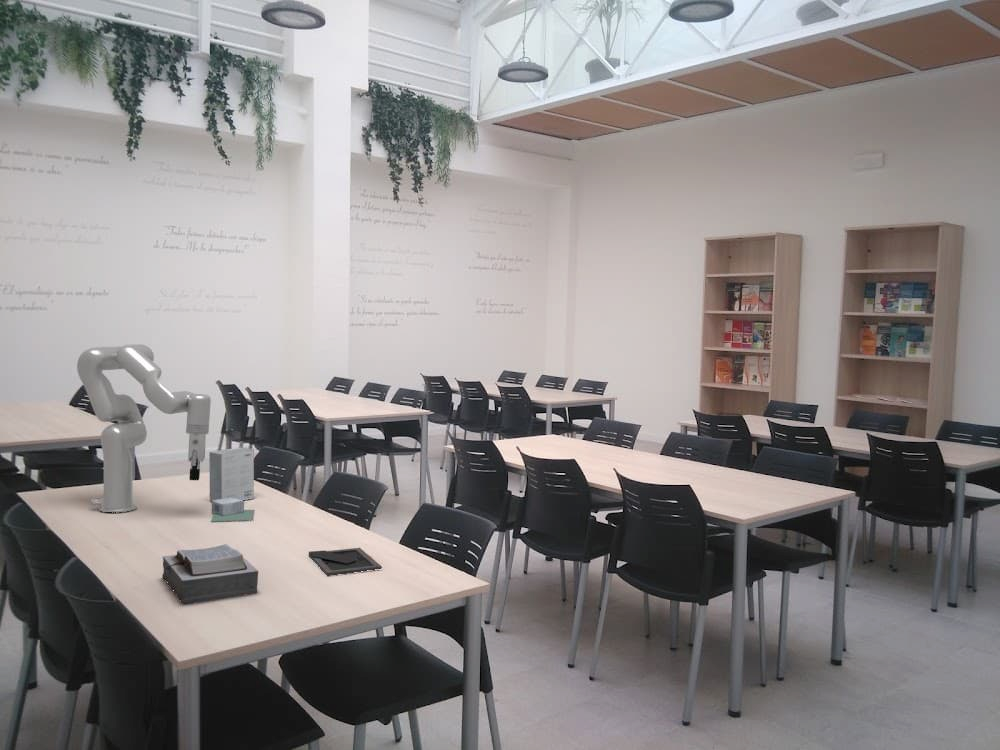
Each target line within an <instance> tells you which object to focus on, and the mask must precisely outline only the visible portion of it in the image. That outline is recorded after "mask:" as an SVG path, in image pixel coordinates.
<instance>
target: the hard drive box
mask: <svg viewBox="0 0 1000 750" xmlns="http://www.w3.org/2000/svg"><path fill="white" fill-rule="evenodd" d="M208 456H209V459H208V460H209V461H208V464H209V465H208V466H209V503H210V502H211V504H212V500H217V499H224V498H231V497H233V498H236V499H239V500H245V501H249V500H253V498H254V499H255V482H254V481H255V470H254V469H255V461H254V460H255V450H254V449H253V448H248V447H236V448H229V449H228V448H226V449H222V450H215V451H209V455H208ZM248 499H249V500H248Z"/></svg>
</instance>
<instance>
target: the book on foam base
mask: <svg viewBox="0 0 1000 750" xmlns="http://www.w3.org/2000/svg"><path fill="white" fill-rule="evenodd" d="M162 560H163V561H162V569H163V572H162V577H161V578H162V580H163V579H164V580H166V581H167V582H168V583H167V582H166V583H167V586H168V585H169V586H170V587H171V589H172V590H174V592H175V593H176V594H177V596H178V598H179V599H178V598H177V599H178V601H180V600H181V601H180V602H181V604H182V603H183V604H182V605H185V604H184V603H190V604H195V603H194V602H197V603H203V602H207V601H215V600H221V599H228V598H234V596H235V597H240V596H239V595H241V596H245V595H244V594H248V595H252V594H251V593H254V594H257V593H258V584H259V580H258V579H259V570H258V569H256V568H255V566H254V565H253V564H252V563H251V562H250V561H248V560H247V559H246V558H245V557H244V555H243V554H242V552H240V551H239V550H238V549H234V548H232V547H231V546H230V545H228V544H227V543H225V544H224V543H223V544H220V545H218V546H212V547H207V548H199V549H198V548H197V549H178V550H177V551H176V554H171V555H170V554H169V555H165V556H162ZM164 580H163V581H164ZM169 586H168V587H169ZM170 587H169V588H170ZM171 589H170V590H171ZM172 590H171V591H172ZM256 592H257V593H256ZM175 593H174V594H175ZM176 594H175V595H176ZM177 596H176V597H177Z"/></svg>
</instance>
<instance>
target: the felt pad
mask: <svg viewBox="0 0 1000 750" xmlns="http://www.w3.org/2000/svg"><path fill="white" fill-rule="evenodd" d="M254 515H255V509H244V512H241V513H236V514H230V515H225V516H222V515H219V514H216V513H214V512H213V515H212V517H211V520H210V523H229V522H230V523H232V522H231V521H238V522H252V521H251V520H253V521H254V518H253V517H254ZM249 520H250V521H249Z"/></svg>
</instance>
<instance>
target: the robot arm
mask: <svg viewBox="0 0 1000 750" xmlns="http://www.w3.org/2000/svg"><path fill="white" fill-rule="evenodd" d="M154 357H155V355H154V352H153V350H152V349H151V348H150V347H149V346H148V345H145V344H125V345H122V346H97V347H91V348H87V349H86V350H84V351H83V352H82V353H81V354H80V355H79V357H78V359H77V363H76V364H77V365H76V370H77V374H78V377H79V379H80V380H81V383H82V385H83V387H84V389H85V391H86V394H87V396H88V400H89V402H90V404H91V407H92V410H93V412H94V414H95V417H96V418H97V419H98V420H99V421H100V422H104V423H109V422H117V423H113V424H109V425H108V426H106V427H105V428H104V429H103V430H102V432H101V433H100V444H101V448H102V454H103V497H100V498H91V499H90V505H93V506H97V505H99V507H98V511H99V512H100V511H102V512H101V513H104V512H112V513H111V514H120V513H119V512H122V513H128V512H127V511H129V512H131V511H132V510H133V511H135V510H137V508H138V505H137V504H136V503H133V456H132V454H131V452H130V449H129V448H134V447H137V446H141V445H142V444H143V443H144V442H145V441H146V439H147V437H148V436H147V434H148V433H147V427H146V425H145V422H144V420H143V418H142V415H141V412H140V409H139V407H138V404H137V403H136V401H135V400H134V399H133V397H132V396H130V395H127V394H116V393H115V390H114V388H113V386H112V383H111V381H110V379H109V378H108V377H107V376H106V375H105V374H104V373H103V371H111V370H112V371H113V370H124V371H126V372H127V373H128V374H129V375H130V376H131V377H132V378H134V379H135V380H136V381H137V382H138V383H139V384H140V385H141V386H142V390H143V392H144V395H145V397H146V398H147V400H148V402H150V403H151V404H152V405H153V406H154V407H155V408H157V409H158V410H159V411H160V412H162V413H164V414H167V415H174V414H179V413H180V414H181V413H187V414H186V429H185V433H186V434H188V437H189V438H188V451H187V452H188V455H187V457H188V458H187V459H188V460H187V461H188V462H190V468H189V481H199V480H200V474H201V473H200V472H201V468H200V466H201V463H203V462H204V460H205V458H206V442H207V439H206V436H207V435H209V431H210V418H211V417H210V415H211V401H212V400H211V396H210V395H208V394H202V393H194V392H191V391H187V390H184V391H183V390H182V391H173V392H170V391H169V390H168V389H166V388H165V386H164V385H162V384H161V383H160V381H159V380H160V378H161V376H162V372H163V371H162V369H161V367H159V365H157V364H156V363H155V362H154V359H155V358H154ZM113 512H114V513H113ZM115 512H116V513H115Z"/></svg>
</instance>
